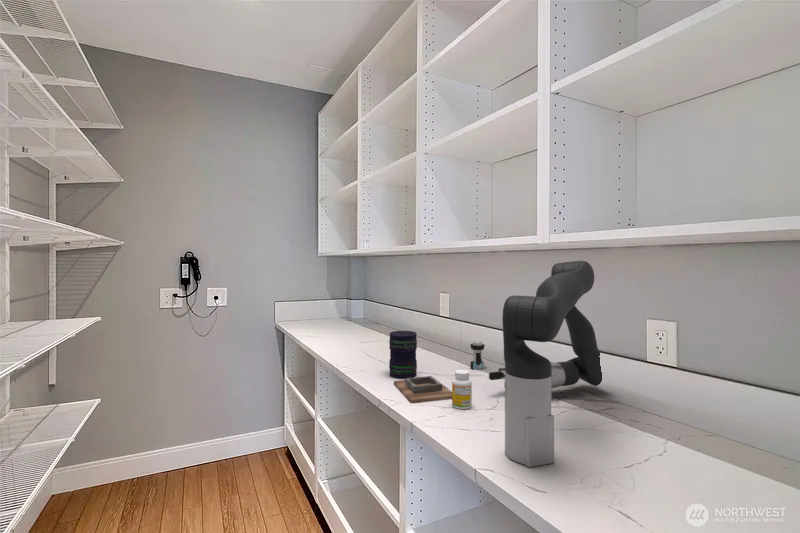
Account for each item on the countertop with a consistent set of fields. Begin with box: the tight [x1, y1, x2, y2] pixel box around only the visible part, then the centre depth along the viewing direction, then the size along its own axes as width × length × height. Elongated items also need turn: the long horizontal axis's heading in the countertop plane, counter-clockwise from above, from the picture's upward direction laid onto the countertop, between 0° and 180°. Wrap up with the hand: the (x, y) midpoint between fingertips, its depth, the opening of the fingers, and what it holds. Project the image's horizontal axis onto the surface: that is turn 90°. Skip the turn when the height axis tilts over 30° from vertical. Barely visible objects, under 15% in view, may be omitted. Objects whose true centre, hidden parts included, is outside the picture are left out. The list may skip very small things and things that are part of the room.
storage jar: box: [388, 330, 418, 380], centre depth 138 cm, size 10×10×15 cm
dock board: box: [393, 375, 452, 404], centre depth 121 cm, size 18×14×3 cm
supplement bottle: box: [451, 369, 473, 410], centre depth 109 cm, size 5×5×10 cm
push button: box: [470, 340, 487, 370], centre depth 147 cm, size 7×5×10 cm
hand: (497, 380), depth 112 cm, fingers open, 8 cm apart
